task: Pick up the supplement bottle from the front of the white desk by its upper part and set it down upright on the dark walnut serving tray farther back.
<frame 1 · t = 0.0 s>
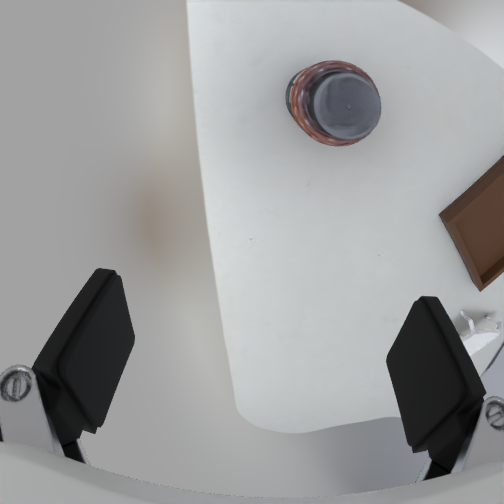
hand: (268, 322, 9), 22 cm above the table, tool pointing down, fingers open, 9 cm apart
serving tray: (502, 212, 29), on the table
supplement bottle: (317, 97, 25), on the table
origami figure: (465, 321, 38), on the table
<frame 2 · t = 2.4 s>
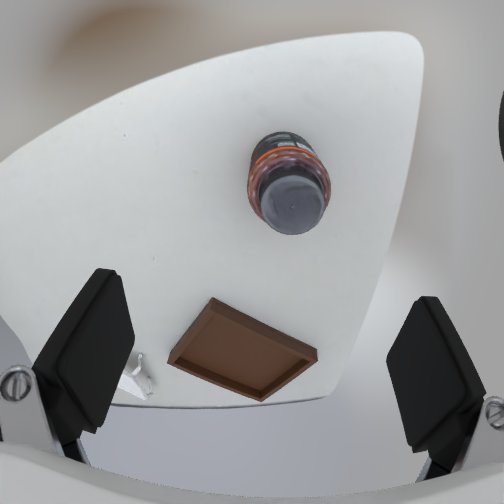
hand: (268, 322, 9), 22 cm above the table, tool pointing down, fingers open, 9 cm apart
serving tray: (240, 352, 42), on the table
supplement bottle: (283, 160, 28), on the table
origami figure: (135, 361, 46), on the table
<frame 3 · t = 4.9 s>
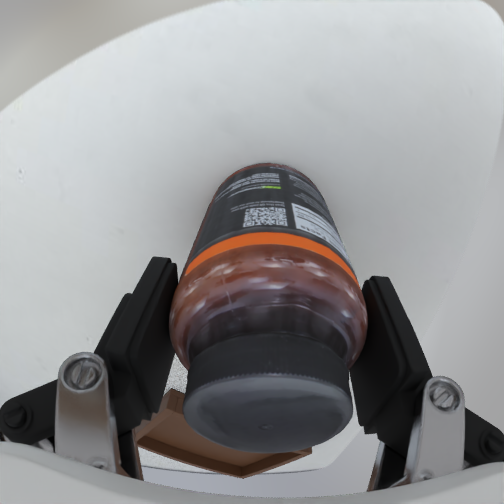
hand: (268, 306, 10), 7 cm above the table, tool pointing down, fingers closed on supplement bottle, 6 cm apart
serving tray: (215, 437, 30), on the table
supplement bottle: (268, 213, 16), on the table, touching gripper
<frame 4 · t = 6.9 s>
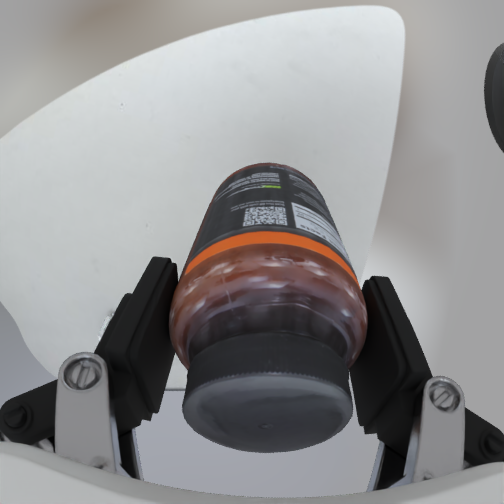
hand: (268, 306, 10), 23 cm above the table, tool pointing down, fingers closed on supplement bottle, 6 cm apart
supplement bottle: (268, 213, 16), point 16 cm above the table, touching gripper
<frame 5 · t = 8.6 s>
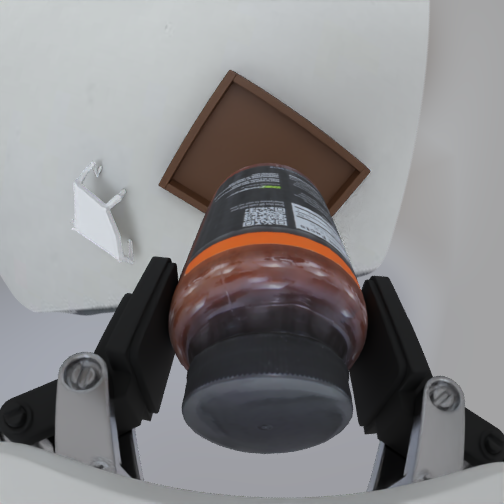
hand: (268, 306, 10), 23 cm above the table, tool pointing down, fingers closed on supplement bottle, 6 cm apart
serving tray: (263, 168, 31), on the table
supplement bottle: (268, 213, 16), point 16 cm above the table, touching gripper
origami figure: (114, 211, 34), on the table
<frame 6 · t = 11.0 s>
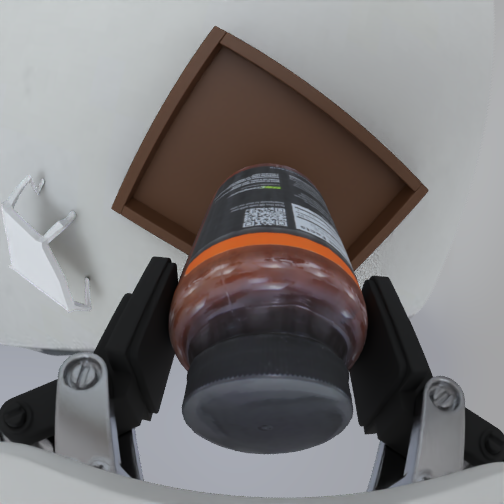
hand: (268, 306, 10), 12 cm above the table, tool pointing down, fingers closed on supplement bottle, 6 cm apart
serving tray: (268, 182, 20), on the table
supplement bottle: (268, 213, 16), point 5 cm above the table, touching gripper
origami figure: (65, 239, 24), on the table
when the fingers open (8 cm above the table, at t = 12.7 s): supplement bottle stays where it is, resting on serving tray.
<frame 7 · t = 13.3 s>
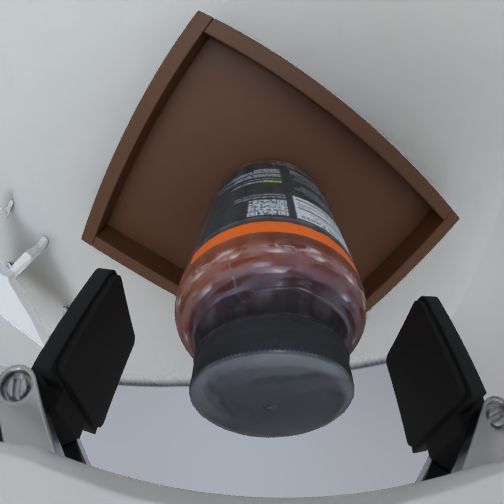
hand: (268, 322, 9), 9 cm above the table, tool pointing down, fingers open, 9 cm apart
serving tray: (268, 207, 17), on the table
supplement bottle: (269, 209, 16), resting on serving tray
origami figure: (40, 266, 20), on the table
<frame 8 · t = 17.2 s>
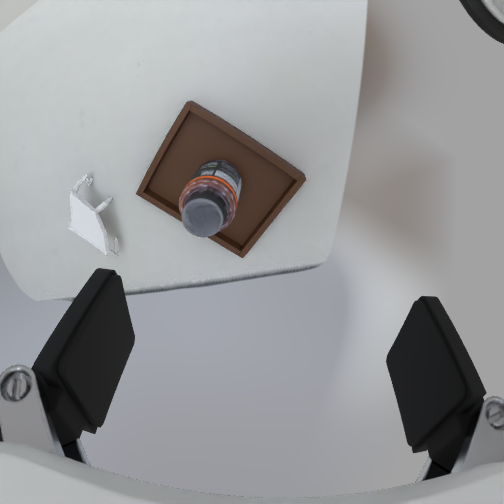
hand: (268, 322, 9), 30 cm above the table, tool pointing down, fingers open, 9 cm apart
serving tray: (219, 179, 38), on the table
supplement bottle: (219, 179, 38), resting on serving tray
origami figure: (103, 214, 42), on the table
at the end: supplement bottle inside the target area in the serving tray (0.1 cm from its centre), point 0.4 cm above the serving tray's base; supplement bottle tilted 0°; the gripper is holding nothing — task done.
